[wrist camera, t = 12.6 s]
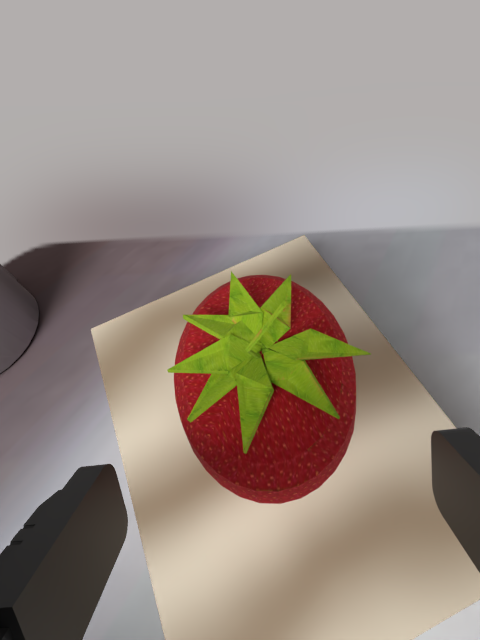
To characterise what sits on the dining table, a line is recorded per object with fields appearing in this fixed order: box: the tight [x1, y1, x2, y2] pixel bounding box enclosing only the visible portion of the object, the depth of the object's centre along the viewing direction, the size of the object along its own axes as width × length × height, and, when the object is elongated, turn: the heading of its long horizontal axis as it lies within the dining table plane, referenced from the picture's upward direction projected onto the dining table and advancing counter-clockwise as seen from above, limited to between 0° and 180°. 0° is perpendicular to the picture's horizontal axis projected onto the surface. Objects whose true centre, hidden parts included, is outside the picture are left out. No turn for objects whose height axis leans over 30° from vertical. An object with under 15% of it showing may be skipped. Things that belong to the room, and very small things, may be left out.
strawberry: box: [167, 271, 371, 504], centre depth 12 cm, size 6×8×10 cm
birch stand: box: [91, 235, 480, 640], centre depth 18 cm, size 18×14×5 cm
